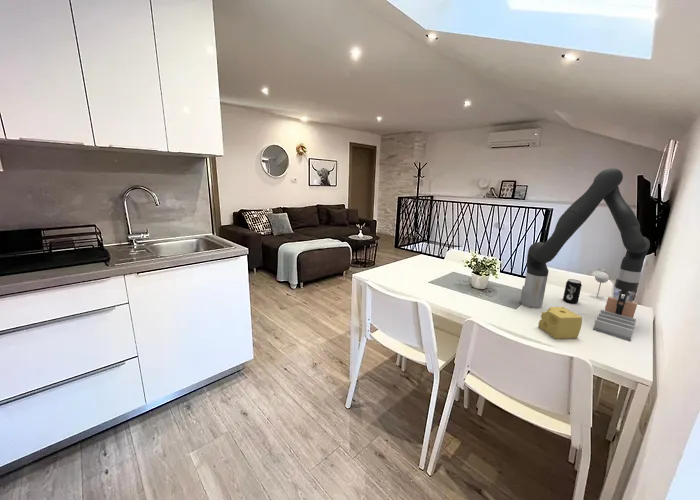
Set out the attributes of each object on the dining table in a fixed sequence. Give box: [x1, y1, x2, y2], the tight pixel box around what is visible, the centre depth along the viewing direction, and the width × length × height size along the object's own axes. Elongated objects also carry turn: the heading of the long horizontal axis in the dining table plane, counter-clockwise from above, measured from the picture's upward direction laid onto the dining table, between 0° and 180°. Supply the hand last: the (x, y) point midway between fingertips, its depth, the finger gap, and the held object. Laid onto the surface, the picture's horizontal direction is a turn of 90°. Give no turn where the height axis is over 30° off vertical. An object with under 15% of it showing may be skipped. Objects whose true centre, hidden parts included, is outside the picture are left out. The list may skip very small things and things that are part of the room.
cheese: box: [538, 306, 583, 340], centre depth 123 cm, size 10×11×10 cm
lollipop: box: [594, 271, 610, 299], centre depth 159 cm, size 6×6×15 cm
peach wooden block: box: [604, 295, 638, 318], centre depth 135 cm, size 2×10×10 cm, turn 42°
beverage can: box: [562, 278, 583, 305], centre depth 154 cm, size 7×7×12 cm
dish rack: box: [592, 309, 637, 342], centre depth 127 cm, size 17×12×4 cm
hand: (619, 311), depth 135 cm, fingers open, 8 cm apart
